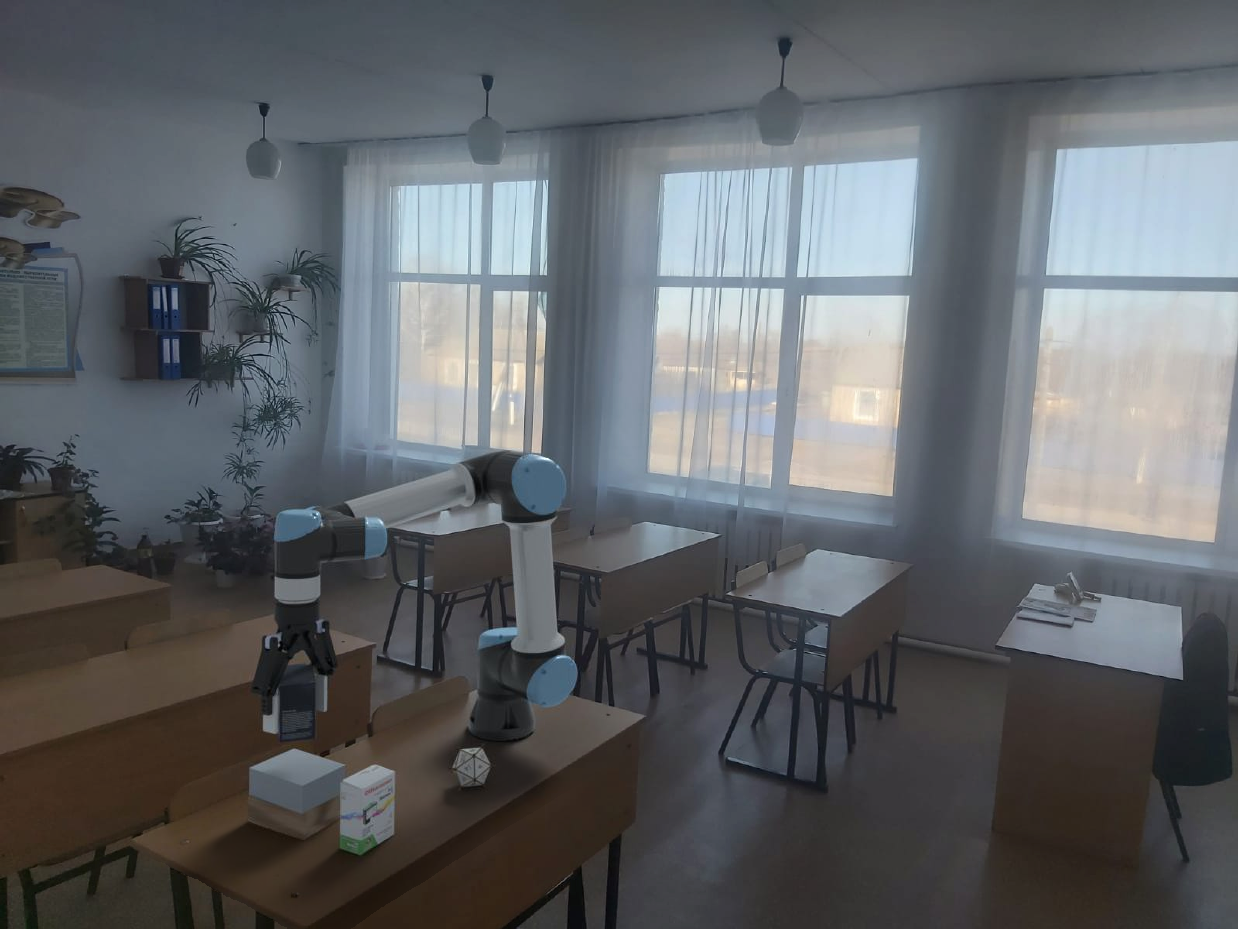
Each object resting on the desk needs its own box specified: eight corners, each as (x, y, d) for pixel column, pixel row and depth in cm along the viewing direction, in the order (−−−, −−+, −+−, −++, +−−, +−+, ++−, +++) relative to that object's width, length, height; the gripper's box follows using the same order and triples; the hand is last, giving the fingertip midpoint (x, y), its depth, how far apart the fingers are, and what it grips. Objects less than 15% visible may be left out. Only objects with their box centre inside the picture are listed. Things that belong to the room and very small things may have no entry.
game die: (476, 808, 174) (482, 782, 168) (438, 788, 175) (443, 762, 169) (498, 771, 181) (505, 745, 174) (461, 752, 182) (466, 725, 176)
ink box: (360, 856, 148) (361, 788, 147) (338, 848, 150) (339, 781, 149) (395, 834, 156) (396, 769, 155) (373, 827, 158) (374, 763, 157)
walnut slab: (290, 800, 167) (290, 775, 167) (344, 817, 162) (344, 790, 161) (247, 823, 158) (247, 796, 157) (303, 842, 153) (304, 814, 152)
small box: (274, 721, 161) (275, 664, 160) (312, 717, 164) (313, 661, 163) (277, 743, 152) (277, 683, 151) (317, 739, 154) (318, 680, 153)
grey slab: (293, 774, 167) (294, 748, 166) (345, 791, 161) (345, 764, 160) (249, 795, 158) (249, 767, 158) (302, 814, 152) (302, 786, 152)
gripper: (327, 583, 168) (326, 696, 170) (227, 610, 146) (226, 739, 148) (359, 588, 165) (357, 703, 167) (261, 616, 144) (260, 748, 145)
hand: (296, 720), depth 158 cm, fingers closed on small box, 11 cm apart
